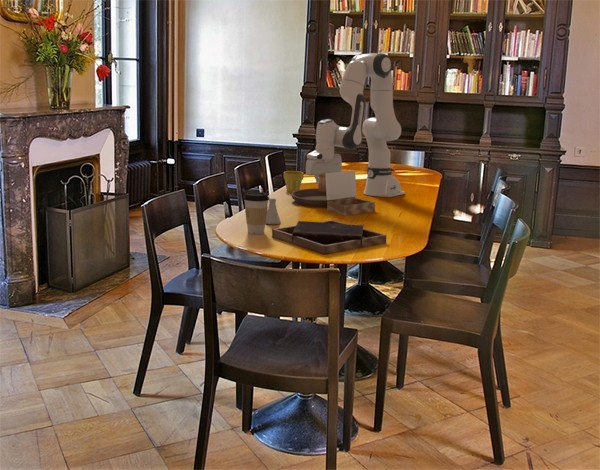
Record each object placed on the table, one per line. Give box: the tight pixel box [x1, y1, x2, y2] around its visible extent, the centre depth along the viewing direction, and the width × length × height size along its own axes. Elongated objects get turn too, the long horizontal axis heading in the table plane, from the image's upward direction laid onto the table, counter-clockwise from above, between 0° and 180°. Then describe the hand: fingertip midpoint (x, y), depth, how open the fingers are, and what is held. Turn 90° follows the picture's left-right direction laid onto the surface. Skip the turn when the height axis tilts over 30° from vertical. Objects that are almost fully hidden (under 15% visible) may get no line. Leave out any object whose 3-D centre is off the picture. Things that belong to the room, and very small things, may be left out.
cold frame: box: [326, 197, 376, 216], centre depth 299 cm, size 18×15×12 cm
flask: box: [265, 198, 282, 226], centre depth 271 cm, size 7×7×10 cm
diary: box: [292, 220, 364, 247], centre depth 247 cm, size 19×25×5 cm
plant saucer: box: [290, 187, 356, 208], centre depth 320 cm, size 31×31×5 cm
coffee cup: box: [242, 191, 270, 235], centre depth 254 cm, size 10×10×15 cm
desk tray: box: [271, 219, 388, 256], centre depth 247 cm, size 30×30×3 cm
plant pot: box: [283, 170, 304, 193], centre depth 347 cm, size 10×10×10 cm
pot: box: [317, 172, 330, 192], centre depth 318 cm, size 6×6×9 cm
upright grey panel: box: [325, 170, 358, 200], centre depth 302 cm, size 18×12×1 cm
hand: (323, 183), depth 318 cm, fingers closed on pot, 5 cm apart
